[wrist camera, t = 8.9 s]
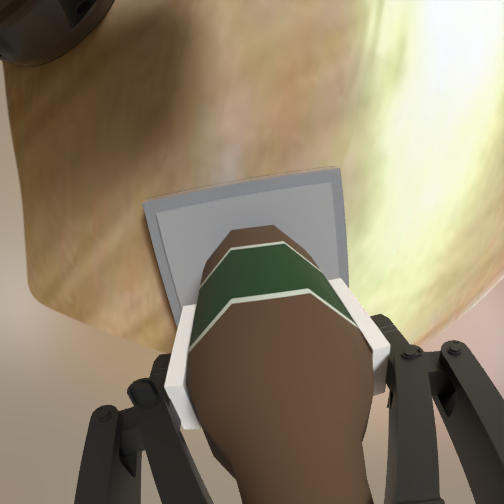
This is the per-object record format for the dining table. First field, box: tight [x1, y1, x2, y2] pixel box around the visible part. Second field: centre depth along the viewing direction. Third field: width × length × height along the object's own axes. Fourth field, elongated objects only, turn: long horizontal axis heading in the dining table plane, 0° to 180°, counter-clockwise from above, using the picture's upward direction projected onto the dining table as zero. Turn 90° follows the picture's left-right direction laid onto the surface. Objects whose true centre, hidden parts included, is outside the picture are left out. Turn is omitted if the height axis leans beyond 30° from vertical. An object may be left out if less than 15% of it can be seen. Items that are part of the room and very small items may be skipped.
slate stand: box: [143, 166, 349, 328], centre depth 27 cm, size 12×16×2 cm
